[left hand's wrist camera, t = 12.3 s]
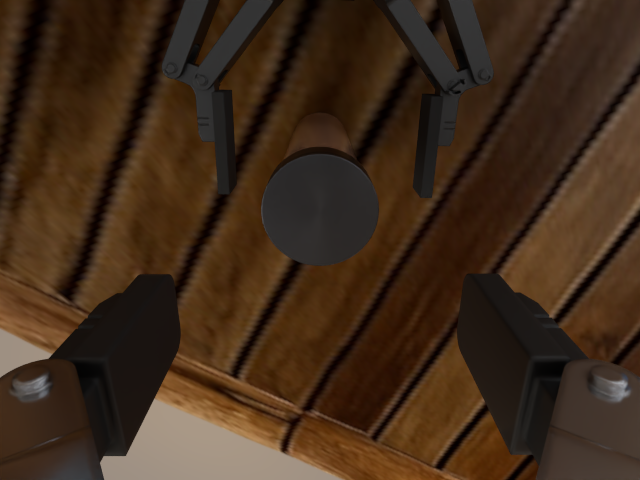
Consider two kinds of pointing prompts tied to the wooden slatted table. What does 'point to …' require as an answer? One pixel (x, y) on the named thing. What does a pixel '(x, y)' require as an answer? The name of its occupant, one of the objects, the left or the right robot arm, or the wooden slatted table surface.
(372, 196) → the lid
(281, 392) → the wooden slatted table surface
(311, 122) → the brown rounded cylinder
